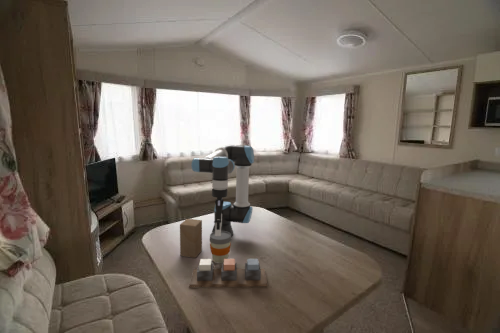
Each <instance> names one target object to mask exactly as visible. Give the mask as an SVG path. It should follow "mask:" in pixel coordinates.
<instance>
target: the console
mask: <svg viewBox="0 0 500 333" xmlns="http://www.w3.org/2000/svg"><path fill="white" fill-rule="evenodd" d="M199 264H200V262H199V263H198V266H197V269H196V268H195V269H192V270H193V271H192V274H191V277H190V281H189V288H231V287H232V288H233V287H234V288H235V287H237V288H238V287H239V288H242V287H248V288H249V287H252V288H253V287H268V279H267V274H266V271H265V268H261V266H260V263H259V270H247V262H245V263H244V268H237V266H238V265H237V262H235V271H224V263H221V268H215V267H214V265H215V262H212V268H211V271H199Z"/></svg>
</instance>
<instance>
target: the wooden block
mask: <svg viewBox="0 0 500 333" xmlns="http://www.w3.org/2000/svg"><path fill="white" fill-rule="evenodd" d="M179 246H180V248H179V254H180V257H186V258H193V259H196V258H197V257H198V256H199V254H201V252H202V250H203V220H202V219H194V218H186V219H184V221H182V222H181V223H180V224H179Z"/></svg>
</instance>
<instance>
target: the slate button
mask: <svg viewBox="0 0 500 333" xmlns="http://www.w3.org/2000/svg"><path fill="white" fill-rule="evenodd" d="M246 263H247V270H259V264H260V262H259V259H258V258H247V259H246Z"/></svg>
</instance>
